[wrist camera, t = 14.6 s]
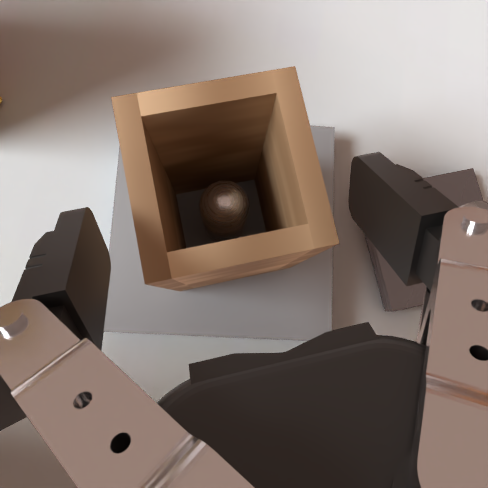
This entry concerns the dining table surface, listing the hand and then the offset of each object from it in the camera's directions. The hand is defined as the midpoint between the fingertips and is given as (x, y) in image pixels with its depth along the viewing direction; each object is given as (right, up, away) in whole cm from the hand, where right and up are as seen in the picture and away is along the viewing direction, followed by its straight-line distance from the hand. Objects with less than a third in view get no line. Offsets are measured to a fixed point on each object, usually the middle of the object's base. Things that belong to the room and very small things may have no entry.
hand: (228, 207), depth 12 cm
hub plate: (-1, 0, +11) cm, 10 cm away
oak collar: (-1, 0, +9) cm, 9 cm away
